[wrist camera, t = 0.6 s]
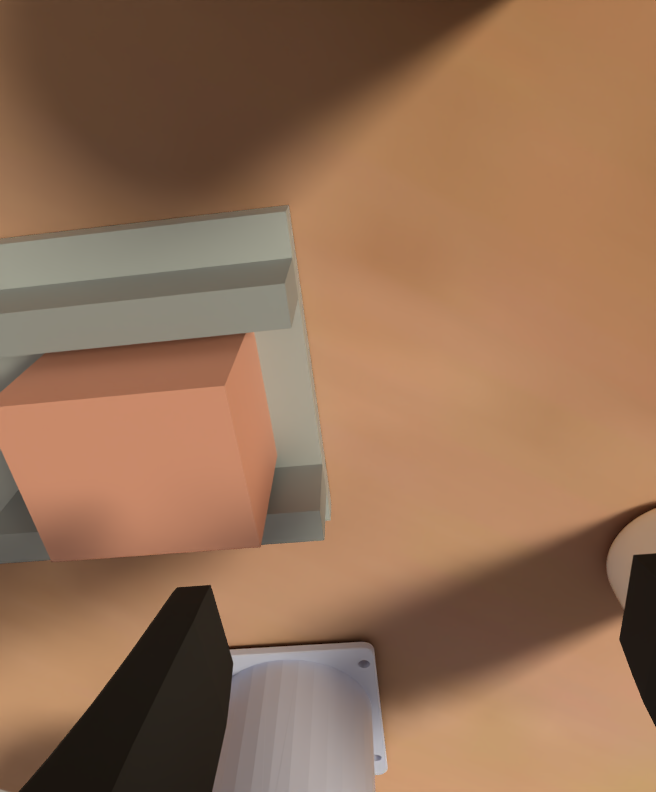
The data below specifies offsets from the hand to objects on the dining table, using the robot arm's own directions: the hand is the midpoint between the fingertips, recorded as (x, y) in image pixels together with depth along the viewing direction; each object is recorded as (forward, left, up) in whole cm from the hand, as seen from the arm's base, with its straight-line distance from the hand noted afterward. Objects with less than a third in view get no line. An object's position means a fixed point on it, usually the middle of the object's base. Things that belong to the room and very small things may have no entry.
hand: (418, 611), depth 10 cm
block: (0, +7, -9) cm, 12 cm away
